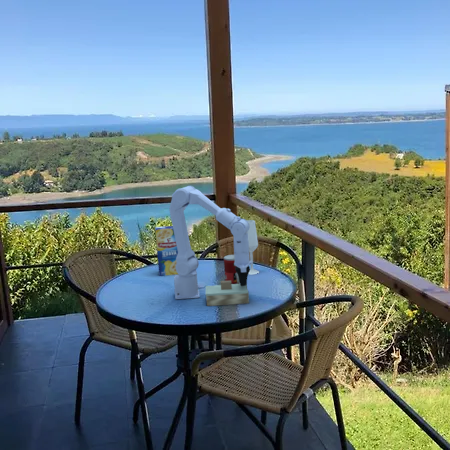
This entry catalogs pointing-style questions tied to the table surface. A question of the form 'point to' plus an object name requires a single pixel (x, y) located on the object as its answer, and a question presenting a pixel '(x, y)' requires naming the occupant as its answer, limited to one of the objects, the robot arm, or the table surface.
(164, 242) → the beverage box
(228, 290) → the lid
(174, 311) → the table surface
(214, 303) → the wooden tray
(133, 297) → the table surface
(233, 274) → the canned food
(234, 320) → the table surface
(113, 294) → the table surface
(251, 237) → the champagne flute
